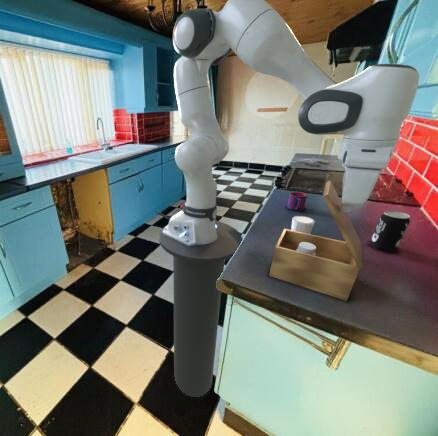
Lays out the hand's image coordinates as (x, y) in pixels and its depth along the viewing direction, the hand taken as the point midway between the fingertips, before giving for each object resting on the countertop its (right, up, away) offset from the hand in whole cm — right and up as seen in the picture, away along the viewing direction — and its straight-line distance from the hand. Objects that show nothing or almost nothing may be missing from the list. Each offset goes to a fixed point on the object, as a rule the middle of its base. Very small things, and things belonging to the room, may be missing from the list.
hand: (345, 210), depth 57 cm
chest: (-2, -18, +11) cm, 21 cm away
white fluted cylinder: (+8, -9, +30) cm, 32 cm away
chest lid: (0, -3, +1) cm, 3 cm away
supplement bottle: (-3, -17, +12) cm, 21 cm away
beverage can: (+30, -12, +21) cm, 39 cm away
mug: (+21, +2, +52) cm, 56 cm away
